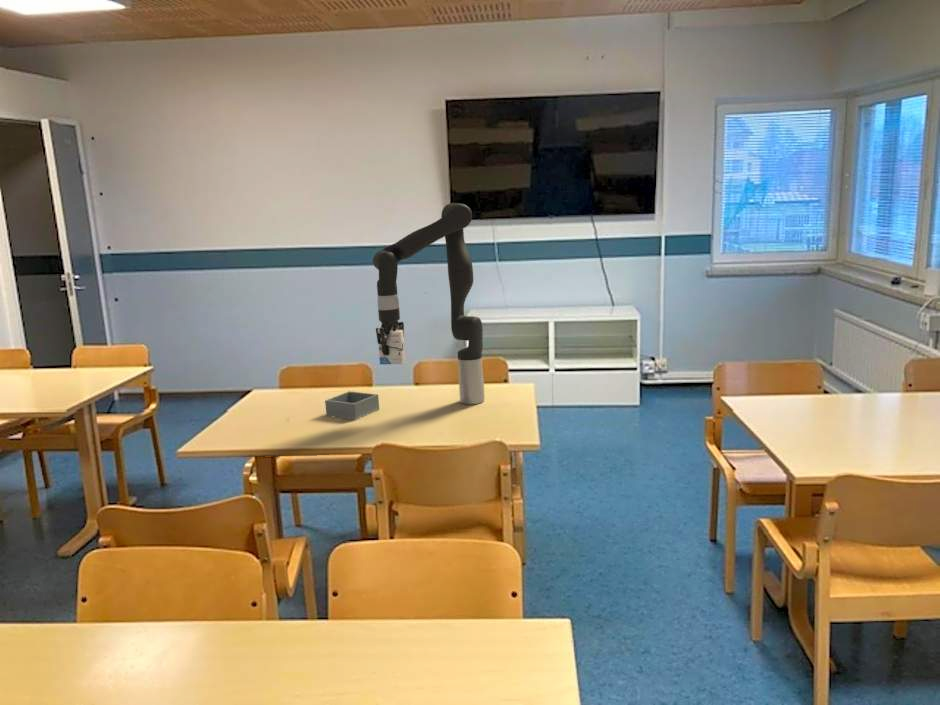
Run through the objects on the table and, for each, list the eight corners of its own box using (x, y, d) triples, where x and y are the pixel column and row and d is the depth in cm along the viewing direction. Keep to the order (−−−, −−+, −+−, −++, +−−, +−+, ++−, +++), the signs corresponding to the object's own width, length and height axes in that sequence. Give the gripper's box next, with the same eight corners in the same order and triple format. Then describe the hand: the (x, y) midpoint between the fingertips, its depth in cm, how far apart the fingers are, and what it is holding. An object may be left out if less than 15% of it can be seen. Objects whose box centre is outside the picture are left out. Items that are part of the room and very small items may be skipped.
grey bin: (350, 406, 285) (349, 391, 283) (379, 409, 278) (378, 394, 276) (326, 416, 273) (325, 400, 272) (356, 420, 266) (354, 404, 265)
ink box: (379, 365, 263) (376, 333, 260) (382, 361, 268) (380, 330, 265) (402, 364, 262) (400, 332, 259) (405, 361, 267) (403, 329, 264)
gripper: (385, 310, 253) (388, 358, 256) (408, 304, 265) (411, 349, 268) (367, 310, 256) (371, 356, 260) (391, 304, 268) (395, 348, 272)
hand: (392, 353), depth 264 cm, fingers closed on ink box, 6 cm apart
